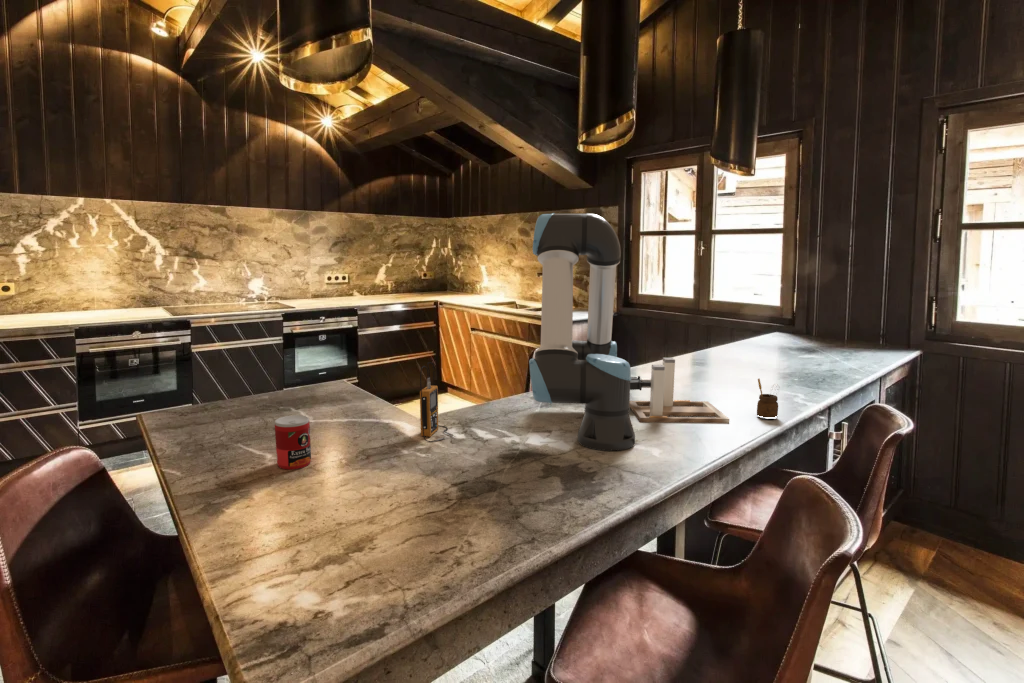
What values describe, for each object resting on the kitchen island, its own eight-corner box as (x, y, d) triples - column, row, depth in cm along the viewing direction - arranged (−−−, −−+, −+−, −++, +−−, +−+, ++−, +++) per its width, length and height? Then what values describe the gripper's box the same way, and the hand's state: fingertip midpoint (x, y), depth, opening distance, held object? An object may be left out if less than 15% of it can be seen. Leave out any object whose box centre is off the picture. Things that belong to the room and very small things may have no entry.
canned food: (291, 472, 132) (289, 426, 130) (269, 465, 136) (267, 420, 134) (318, 462, 138) (316, 418, 137) (297, 456, 143) (294, 413, 141)
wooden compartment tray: (639, 425, 169) (640, 416, 168) (627, 407, 189) (628, 399, 188) (728, 426, 168) (729, 417, 168) (707, 408, 188) (707, 400, 188)
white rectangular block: (652, 419, 171) (654, 366, 168) (649, 416, 174) (651, 364, 172) (662, 419, 171) (664, 367, 168) (659, 416, 174) (661, 364, 172)
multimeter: (451, 444, 152) (450, 370, 149) (415, 441, 154) (413, 368, 151) (466, 427, 166) (465, 359, 163) (433, 425, 168) (432, 358, 165)
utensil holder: (774, 421, 174) (777, 383, 172) (753, 418, 177) (755, 380, 176) (779, 417, 178) (782, 379, 176) (758, 413, 182) (760, 376, 180)
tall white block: (663, 409, 182) (665, 359, 180) (660, 406, 186) (662, 357, 184) (672, 409, 182) (675, 359, 180) (669, 406, 186) (672, 357, 183)
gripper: (585, 389, 192) (656, 389, 191) (590, 399, 179) (665, 399, 178) (585, 367, 190) (656, 367, 190) (590, 375, 177) (667, 376, 177)
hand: (661, 383), depth 184 cm, fingers closed
